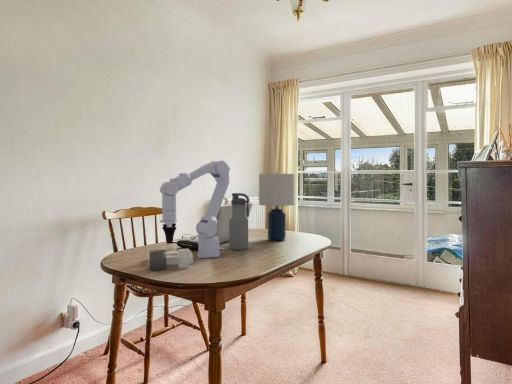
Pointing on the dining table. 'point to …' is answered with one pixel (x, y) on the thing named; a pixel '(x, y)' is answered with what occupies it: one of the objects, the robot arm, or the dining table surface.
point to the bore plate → (174, 258)
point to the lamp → (276, 201)
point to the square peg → (183, 258)
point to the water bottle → (239, 223)
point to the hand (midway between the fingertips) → (169, 241)
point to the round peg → (157, 260)
